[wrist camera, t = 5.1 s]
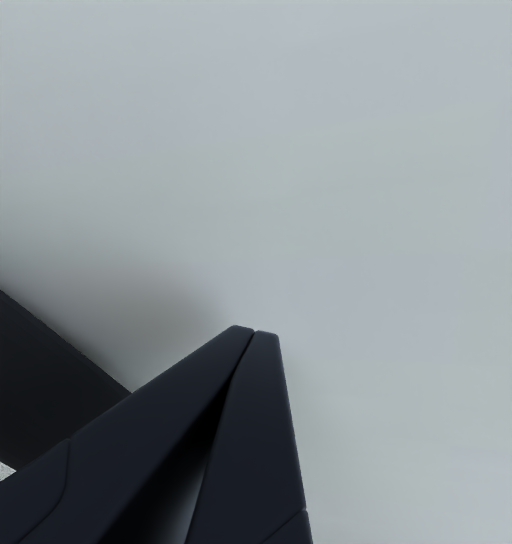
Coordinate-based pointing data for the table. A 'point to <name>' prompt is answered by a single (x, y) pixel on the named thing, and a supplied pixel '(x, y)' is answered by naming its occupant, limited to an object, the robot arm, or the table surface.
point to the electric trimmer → (44, 387)
